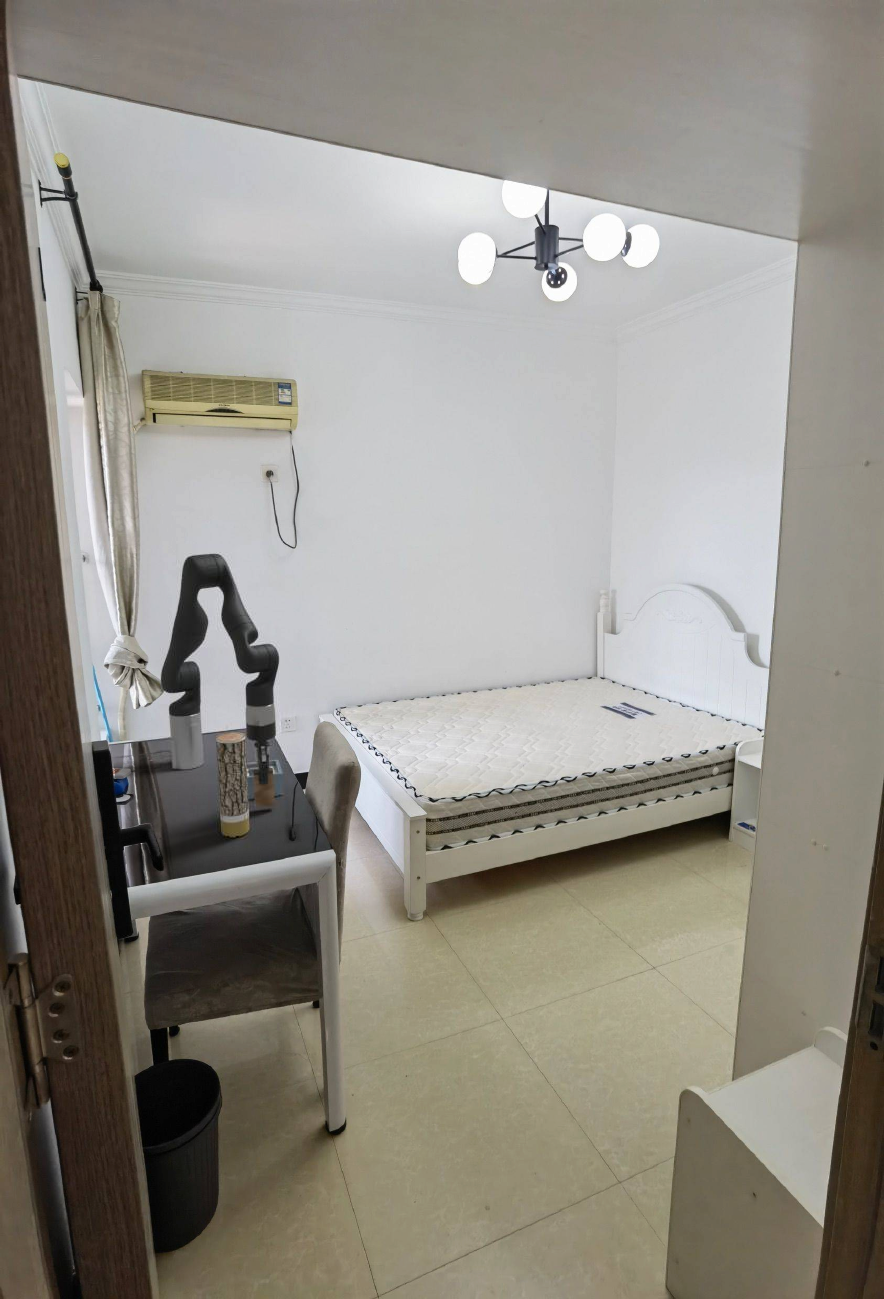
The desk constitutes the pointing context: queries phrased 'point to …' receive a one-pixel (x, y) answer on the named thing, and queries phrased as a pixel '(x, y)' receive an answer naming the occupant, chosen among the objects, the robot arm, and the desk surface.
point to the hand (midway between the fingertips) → (263, 782)
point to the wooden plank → (264, 790)
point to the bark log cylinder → (232, 784)
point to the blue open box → (276, 777)
